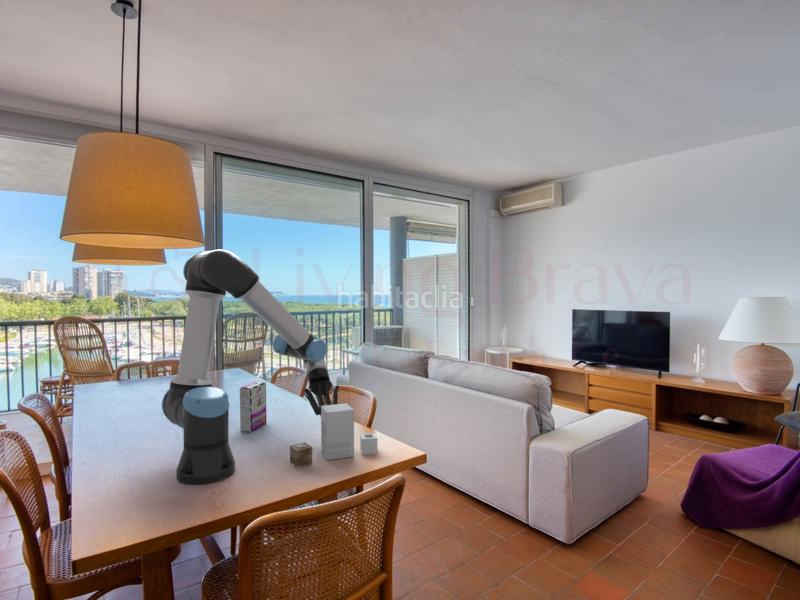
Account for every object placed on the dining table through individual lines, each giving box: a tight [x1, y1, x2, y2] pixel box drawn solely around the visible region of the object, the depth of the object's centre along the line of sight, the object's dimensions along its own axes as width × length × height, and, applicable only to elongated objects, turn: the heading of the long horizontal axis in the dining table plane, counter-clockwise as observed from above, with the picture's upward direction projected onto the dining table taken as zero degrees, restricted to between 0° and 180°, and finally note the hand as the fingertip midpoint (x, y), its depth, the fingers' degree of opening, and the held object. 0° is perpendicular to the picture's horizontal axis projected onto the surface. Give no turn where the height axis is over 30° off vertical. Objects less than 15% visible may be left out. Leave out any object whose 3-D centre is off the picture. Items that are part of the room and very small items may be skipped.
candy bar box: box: [239, 381, 267, 433], centre depth 162 cm, size 11×5×16 cm, turn 168°
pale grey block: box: [359, 432, 378, 455], centre depth 139 cm, size 5×5×5 cm
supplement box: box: [320, 403, 355, 461], centre depth 136 cm, size 9×9×15 cm
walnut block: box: [289, 442, 313, 468], centre depth 129 cm, size 5×5×5 cm
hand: (331, 431), depth 142 cm, fingers closed
